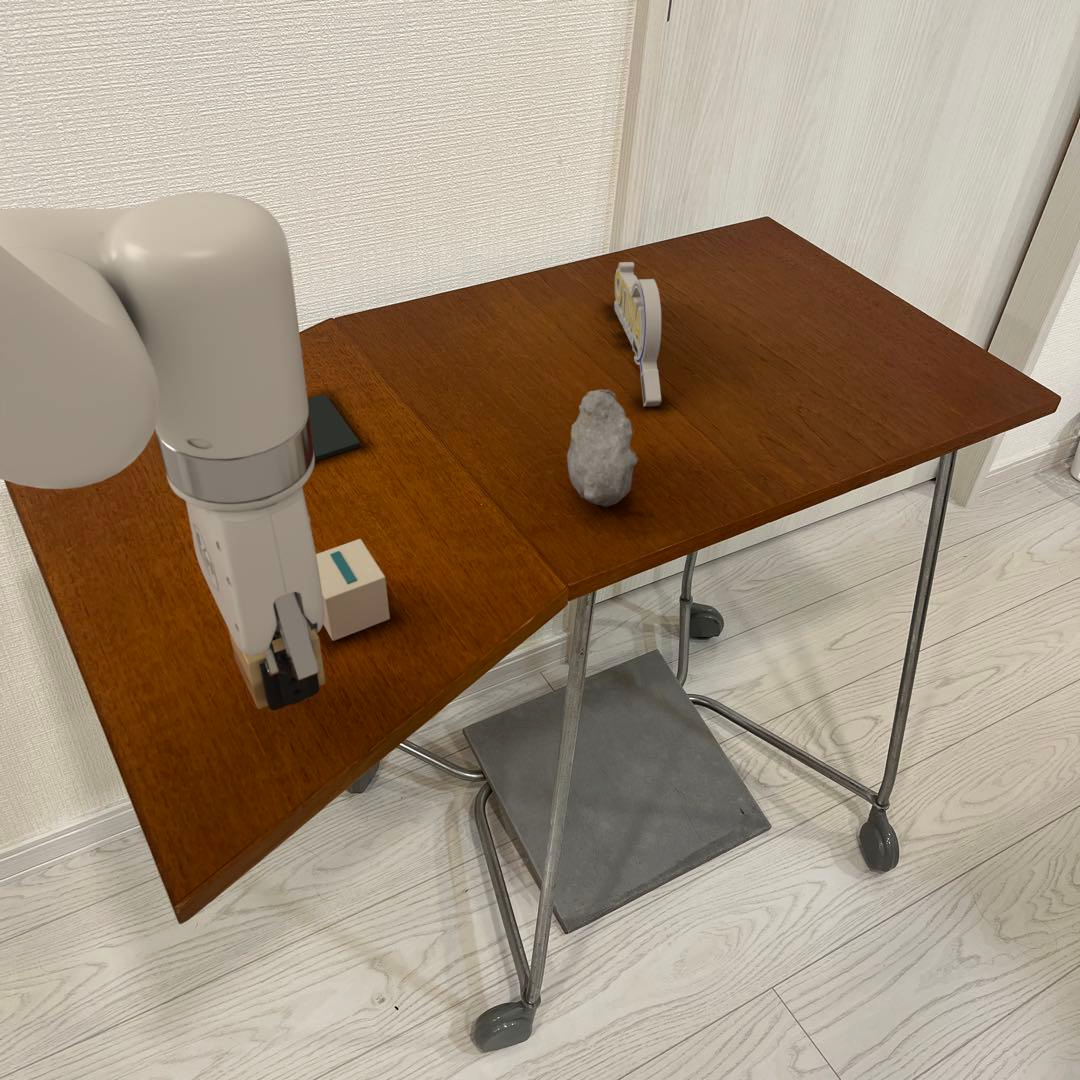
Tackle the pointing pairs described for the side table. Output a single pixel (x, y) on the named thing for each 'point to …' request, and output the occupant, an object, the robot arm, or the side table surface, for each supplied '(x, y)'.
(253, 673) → the letter h
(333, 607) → the letter i
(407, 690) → the side table surface
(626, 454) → the stone
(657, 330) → the decorative sign
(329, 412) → the word mat
